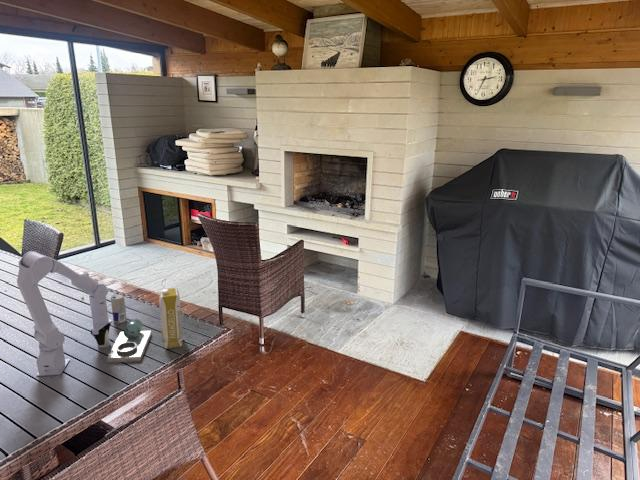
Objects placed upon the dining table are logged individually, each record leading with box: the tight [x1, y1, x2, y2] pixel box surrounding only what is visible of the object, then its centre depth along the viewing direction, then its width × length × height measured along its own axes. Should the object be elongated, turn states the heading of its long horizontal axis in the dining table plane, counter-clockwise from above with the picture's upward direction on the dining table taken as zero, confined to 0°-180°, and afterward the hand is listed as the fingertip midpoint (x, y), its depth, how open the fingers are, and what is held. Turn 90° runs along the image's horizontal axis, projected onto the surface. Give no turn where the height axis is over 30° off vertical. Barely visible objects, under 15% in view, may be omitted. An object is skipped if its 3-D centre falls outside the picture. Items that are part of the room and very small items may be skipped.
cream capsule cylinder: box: [96, 330, 111, 349], centre depth 176 cm, size 4×4×7 cm
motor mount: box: [106, 318, 152, 363], centre depth 175 cm, size 20×12×8 cm, turn 9°
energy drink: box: [110, 293, 127, 324], centre depth 194 cm, size 5×5×12 cm
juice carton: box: [158, 287, 184, 349], centre depth 177 cm, size 9×8×24 cm
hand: (103, 341), depth 177 cm, fingers closed on cream capsule cylinder, 4 cm apart
